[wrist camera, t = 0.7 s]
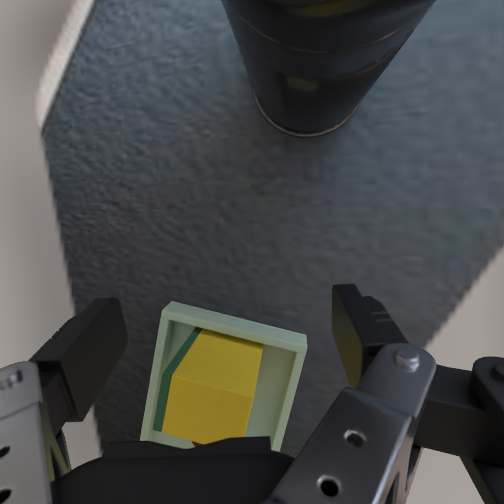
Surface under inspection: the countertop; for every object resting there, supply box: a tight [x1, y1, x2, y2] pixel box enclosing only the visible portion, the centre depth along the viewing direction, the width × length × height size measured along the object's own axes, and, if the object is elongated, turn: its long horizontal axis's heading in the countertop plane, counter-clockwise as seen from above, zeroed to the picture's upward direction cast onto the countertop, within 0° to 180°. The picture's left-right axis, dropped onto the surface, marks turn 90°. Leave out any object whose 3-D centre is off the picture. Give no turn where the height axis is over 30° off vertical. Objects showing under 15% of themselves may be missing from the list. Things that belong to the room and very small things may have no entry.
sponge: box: [153, 327, 264, 444], centre depth 28 cm, size 5×7×9 cm
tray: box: [140, 301, 307, 452], centre depth 33 cm, size 22×14×3 cm, turn 168°
